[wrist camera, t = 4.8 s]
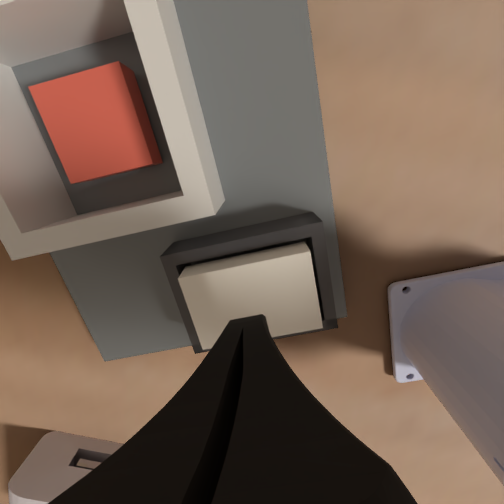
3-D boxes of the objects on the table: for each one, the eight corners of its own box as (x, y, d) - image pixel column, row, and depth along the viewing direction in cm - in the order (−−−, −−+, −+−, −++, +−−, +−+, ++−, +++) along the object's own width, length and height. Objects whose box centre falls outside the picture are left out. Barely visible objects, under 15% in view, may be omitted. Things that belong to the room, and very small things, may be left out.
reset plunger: (133, 71, 12) (118, 61, 11) (162, 162, 13) (152, 163, 12) (52, 94, 12) (28, 86, 11) (88, 181, 14) (70, 184, 12)
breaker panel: (293, -41, 12) (319, -174, 7) (340, 304, 18) (371, 359, 13) (-24, 55, 13) (-183, -2, 9) (115, 346, 19) (68, 411, 14)
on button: (304, 241, 13) (310, 251, 12) (316, 312, 14) (323, 328, 13) (185, 266, 13) (177, 278, 12) (207, 332, 15) (202, 350, 13)
